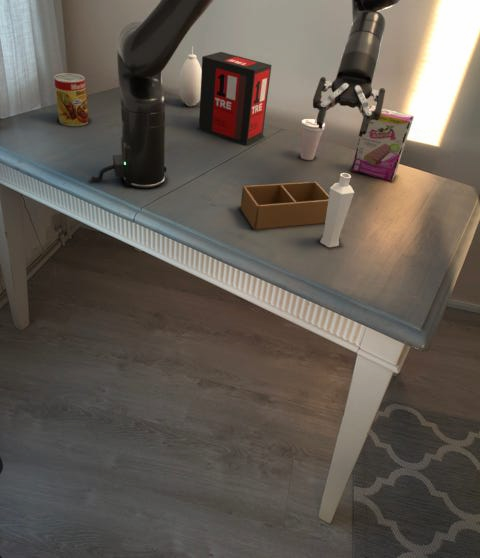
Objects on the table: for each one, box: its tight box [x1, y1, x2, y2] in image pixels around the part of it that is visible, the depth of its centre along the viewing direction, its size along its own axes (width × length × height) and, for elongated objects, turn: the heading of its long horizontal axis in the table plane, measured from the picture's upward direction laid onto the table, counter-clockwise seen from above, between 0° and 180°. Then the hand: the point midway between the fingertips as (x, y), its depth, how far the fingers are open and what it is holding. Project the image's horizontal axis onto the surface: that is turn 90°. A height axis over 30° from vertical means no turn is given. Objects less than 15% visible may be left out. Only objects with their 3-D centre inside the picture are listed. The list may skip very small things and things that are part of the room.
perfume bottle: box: [319, 172, 355, 248], centre depth 99 cm, size 5×4×15 cm
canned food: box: [53, 72, 89, 127], centre depth 139 cm, size 8×8×12 cm
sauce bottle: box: [178, 45, 202, 107], centre depth 158 cm, size 8×8×18 cm
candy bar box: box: [351, 105, 414, 182], centre depth 129 cm, size 11×5×16 cm, turn 65°
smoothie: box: [299, 108, 326, 161], centre depth 134 cm, size 6×6×14 cm
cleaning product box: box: [198, 51, 272, 146], centre depth 141 cm, size 16×9×20 cm, turn 58°
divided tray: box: [239, 181, 329, 230], centre depth 109 cm, size 18×9×6 cm, turn 109°
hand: (340, 130), depth 105 cm, fingers open, 8 cm apart
